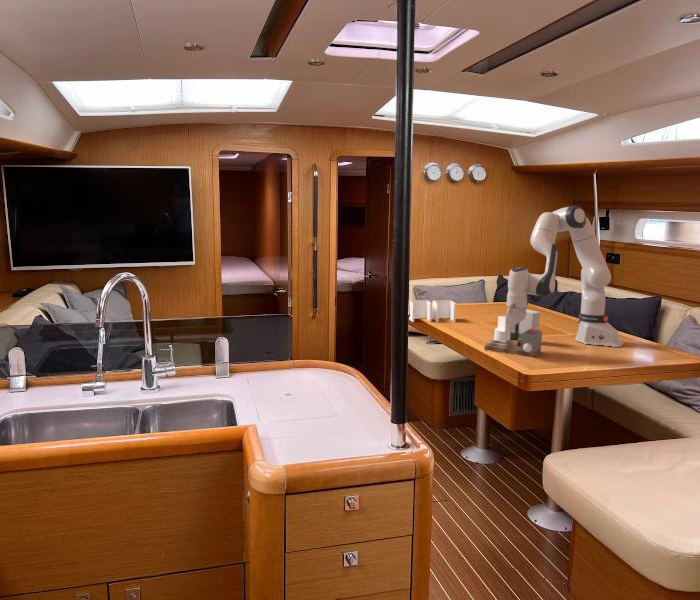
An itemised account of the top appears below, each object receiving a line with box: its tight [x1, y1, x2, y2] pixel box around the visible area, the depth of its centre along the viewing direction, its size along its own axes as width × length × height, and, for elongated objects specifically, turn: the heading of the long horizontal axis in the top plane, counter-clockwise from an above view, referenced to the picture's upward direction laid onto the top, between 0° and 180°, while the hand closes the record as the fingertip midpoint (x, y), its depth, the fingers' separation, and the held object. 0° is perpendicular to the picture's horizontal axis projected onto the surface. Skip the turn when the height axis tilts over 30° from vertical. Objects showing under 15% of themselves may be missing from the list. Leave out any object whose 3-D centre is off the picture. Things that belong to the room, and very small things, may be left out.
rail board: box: [483, 339, 542, 358], centre depth 290 cm, size 23×12×3 cm, turn 59°
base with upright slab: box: [493, 315, 511, 342], centre depth 308 cm, size 9×9×12 cm
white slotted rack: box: [408, 299, 457, 323], centre depth 360 cm, size 25×11×11 cm, turn 96°
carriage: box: [506, 324, 522, 346], centre depth 289 cm, size 5×8×9 cm, turn 149°
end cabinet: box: [521, 330, 543, 357], centre depth 285 cm, size 6×12×10 cm, turn 149°
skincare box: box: [518, 309, 541, 339], centre depth 309 cm, size 8×7×16 cm
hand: (514, 332), depth 288 cm, fingers closed on carriage, 3 cm apart
